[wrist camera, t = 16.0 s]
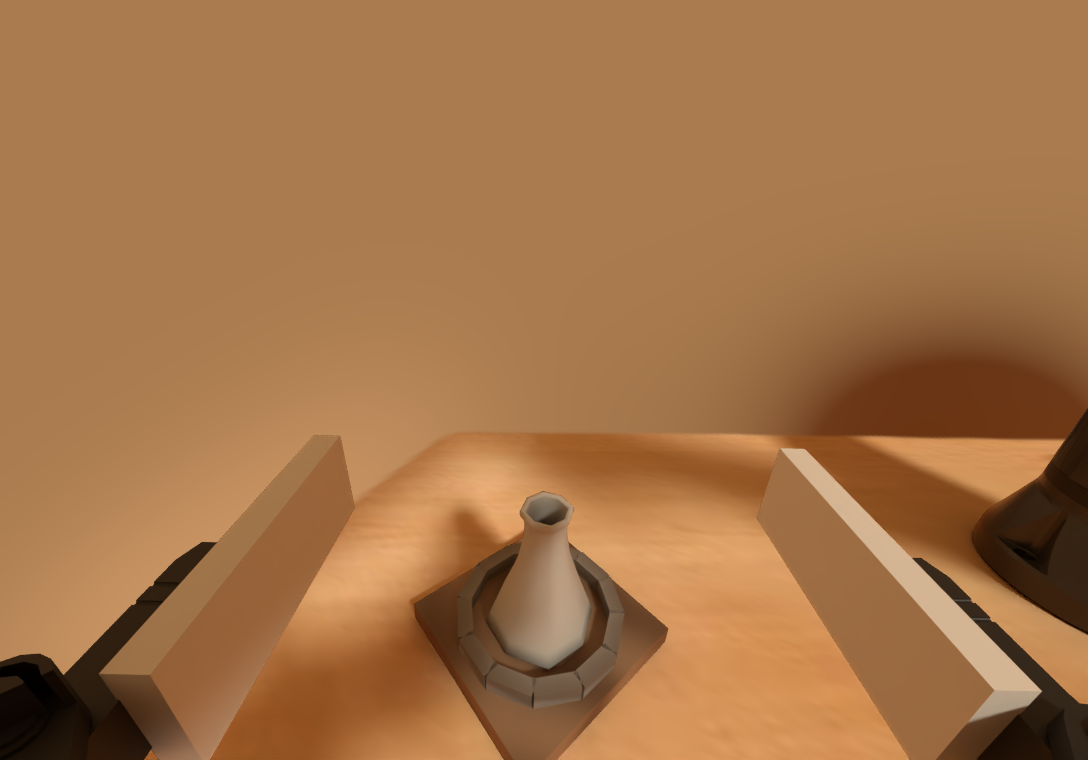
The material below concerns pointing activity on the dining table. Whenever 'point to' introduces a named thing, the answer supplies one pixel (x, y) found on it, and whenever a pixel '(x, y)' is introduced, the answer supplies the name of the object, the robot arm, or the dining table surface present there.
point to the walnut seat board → (527, 689)
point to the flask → (542, 589)
